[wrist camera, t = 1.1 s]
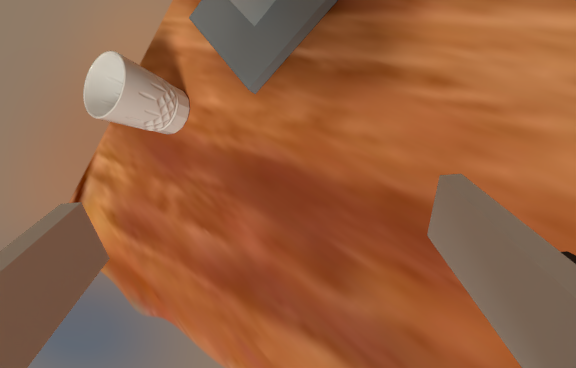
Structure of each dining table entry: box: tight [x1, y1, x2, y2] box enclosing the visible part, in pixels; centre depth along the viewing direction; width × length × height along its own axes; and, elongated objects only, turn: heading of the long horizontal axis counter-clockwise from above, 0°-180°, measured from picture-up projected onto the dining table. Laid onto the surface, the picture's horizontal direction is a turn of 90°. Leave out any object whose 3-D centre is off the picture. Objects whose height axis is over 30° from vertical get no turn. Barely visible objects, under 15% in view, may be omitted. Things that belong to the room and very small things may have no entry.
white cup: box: [83, 51, 190, 134], centre depth 37 cm, size 8×8×10 cm
